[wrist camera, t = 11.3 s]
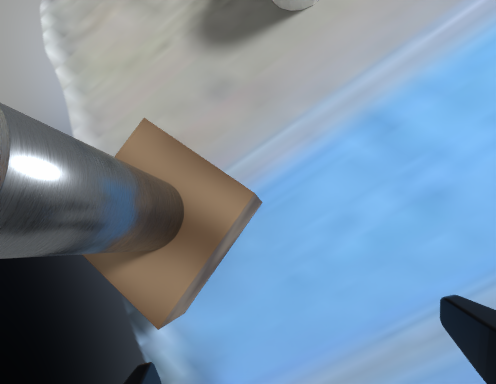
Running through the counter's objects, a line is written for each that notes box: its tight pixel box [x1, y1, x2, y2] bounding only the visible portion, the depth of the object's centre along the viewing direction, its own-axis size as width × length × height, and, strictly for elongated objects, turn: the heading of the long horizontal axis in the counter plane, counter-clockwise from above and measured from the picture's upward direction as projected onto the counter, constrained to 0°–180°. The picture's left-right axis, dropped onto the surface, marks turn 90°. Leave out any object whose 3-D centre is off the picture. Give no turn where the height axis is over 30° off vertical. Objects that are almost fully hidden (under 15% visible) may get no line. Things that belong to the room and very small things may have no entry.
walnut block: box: [82, 118, 262, 330], centre depth 20 cm, size 11×11×4 cm
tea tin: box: [0, 103, 184, 258], centre depth 12 cm, size 5×5×12 cm
